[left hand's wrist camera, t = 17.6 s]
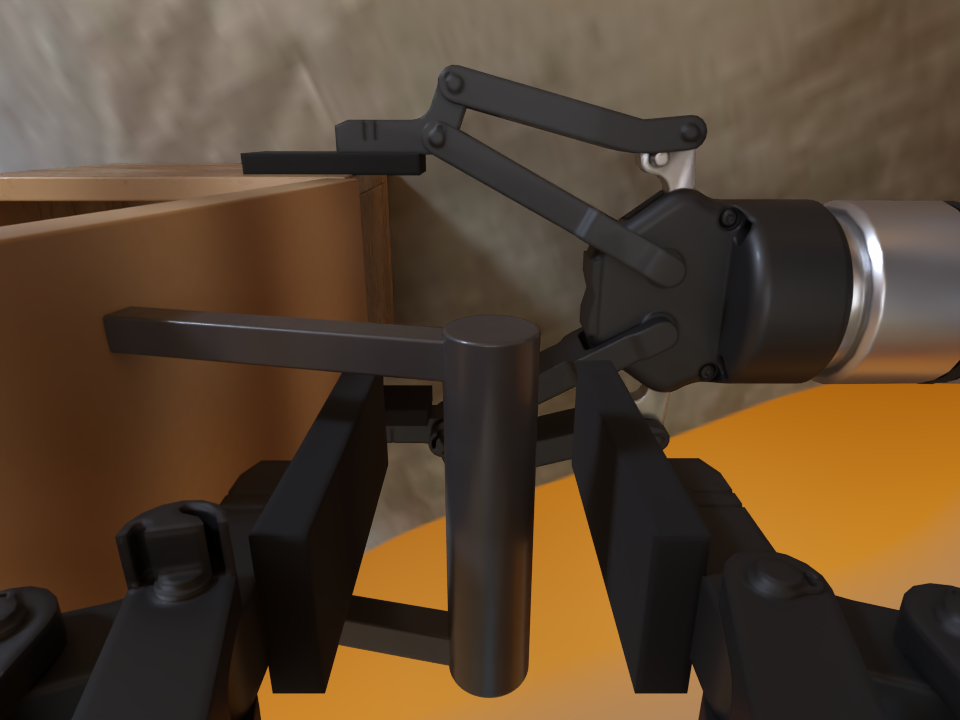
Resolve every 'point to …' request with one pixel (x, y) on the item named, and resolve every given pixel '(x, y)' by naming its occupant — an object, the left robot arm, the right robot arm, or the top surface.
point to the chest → (145, 184)
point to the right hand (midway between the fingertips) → (270, 292)
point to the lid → (247, 400)
